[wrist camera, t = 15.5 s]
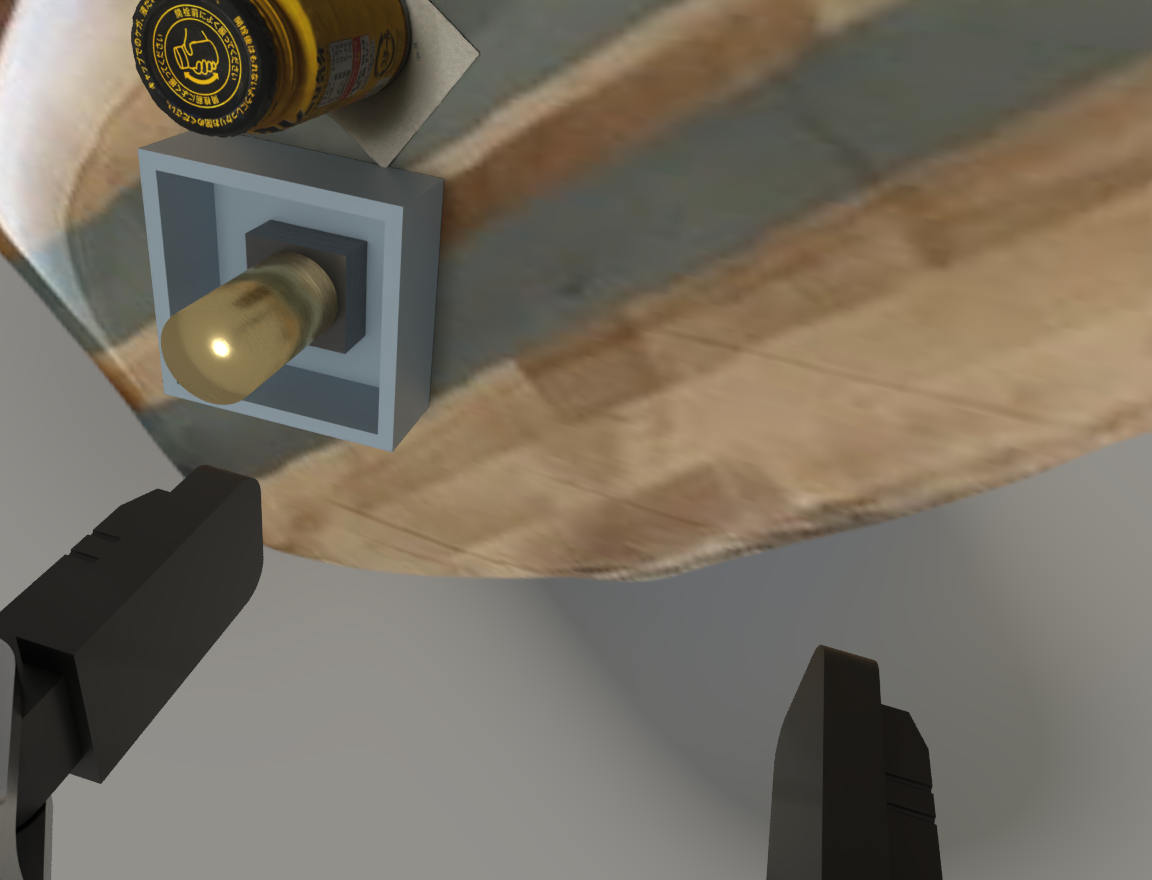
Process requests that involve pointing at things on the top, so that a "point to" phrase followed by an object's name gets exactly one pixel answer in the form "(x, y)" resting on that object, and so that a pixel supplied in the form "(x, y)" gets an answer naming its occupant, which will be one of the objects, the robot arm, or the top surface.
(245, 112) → the condiment
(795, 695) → the robot arm
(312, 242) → the gold cylindrical piece
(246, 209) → the bin
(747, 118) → the top surface
